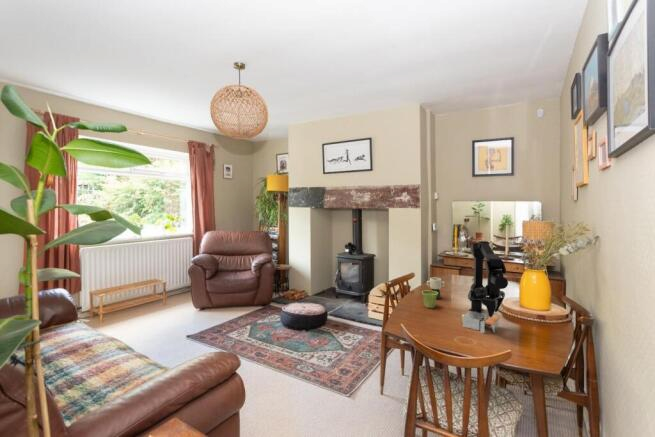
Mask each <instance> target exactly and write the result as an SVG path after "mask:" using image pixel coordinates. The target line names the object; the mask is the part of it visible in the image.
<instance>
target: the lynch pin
mask: <svg viewBox="0 0 655 437" xmlns="http://www.w3.org/2000/svg"><path fill="white" fill-rule="evenodd" d="M465 314H466V313H462V315H461V318H460V320H461V323H463V316H464V315H465ZM481 321H483V320H481ZM485 327H489V328H490V327H491V325H490V324H485Z"/></svg>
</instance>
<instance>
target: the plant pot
mask: <svg viewBox="0 0 655 437" xmlns="http://www.w3.org/2000/svg"><path fill="white" fill-rule="evenodd" d="M421 294H422V296H423V304H424V307H425V308H429V309H433V308H436V302H437V299H436V297H437V294H438V292H436V291H431V289H430V290H422V291H421Z"/></svg>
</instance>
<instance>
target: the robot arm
mask: <svg viewBox="0 0 655 437" xmlns="http://www.w3.org/2000/svg"><path fill="white" fill-rule="evenodd" d="M470 253H471V255H472V256H473V258H474V259H473V260H474V261H473V283H472V284H471V286H470V289H469V292H468V294H467V299H468V300H469V301H470V308H469V309H468V310H469V311H472V312H477V313H481V314H482V312H484V311H485V309H484V308H483V305H484V306H485V307H486V310H487V313H488V314H489V317H492V316H493V315H494V314H495V313H498V311H499V309H500V307H501V305H502V303H503V301H504V299H505V297H506V293H505V291H503V289H505V288H506V289H507V287H508V285H509V280H508V279H507V278H506V277H505V276H504V275H505V274H507V273H506V272H507V268H506V266H505V263H504V261H503V260H502V258H501V257H500V256H499V255H497V254H495V252H494V250H493V249H492V247H491V245H490V243H489V241H488V240H478V241H476V242H475V243H472V244H471V245H470ZM484 260H485V261H484ZM484 267H485V269H486V272H487V279H486V280H487V283H486V285H485V286H484V285H483V284H484V283H483V282H484V281H483V278H484V277H483V276H484ZM469 311H468V312H469ZM488 314H487V315H488Z"/></svg>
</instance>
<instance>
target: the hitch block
mask: <svg viewBox="0 0 655 437" xmlns="http://www.w3.org/2000/svg"><path fill="white" fill-rule="evenodd" d="M464 314H465V315H464V316H463V322H462V328H467V329H470V328H471V330H476V331H479V333H481V334H486V326H485V321H481V320H484V319H485V318H486V314H485V313H482V312H481V313H479V312H474V311H467V313H464ZM488 316H489V314H487V317H488ZM498 329H499V320H498V321H497V322H496V323H495V324H494V325H492V333H496V331H497V330H498Z"/></svg>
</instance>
